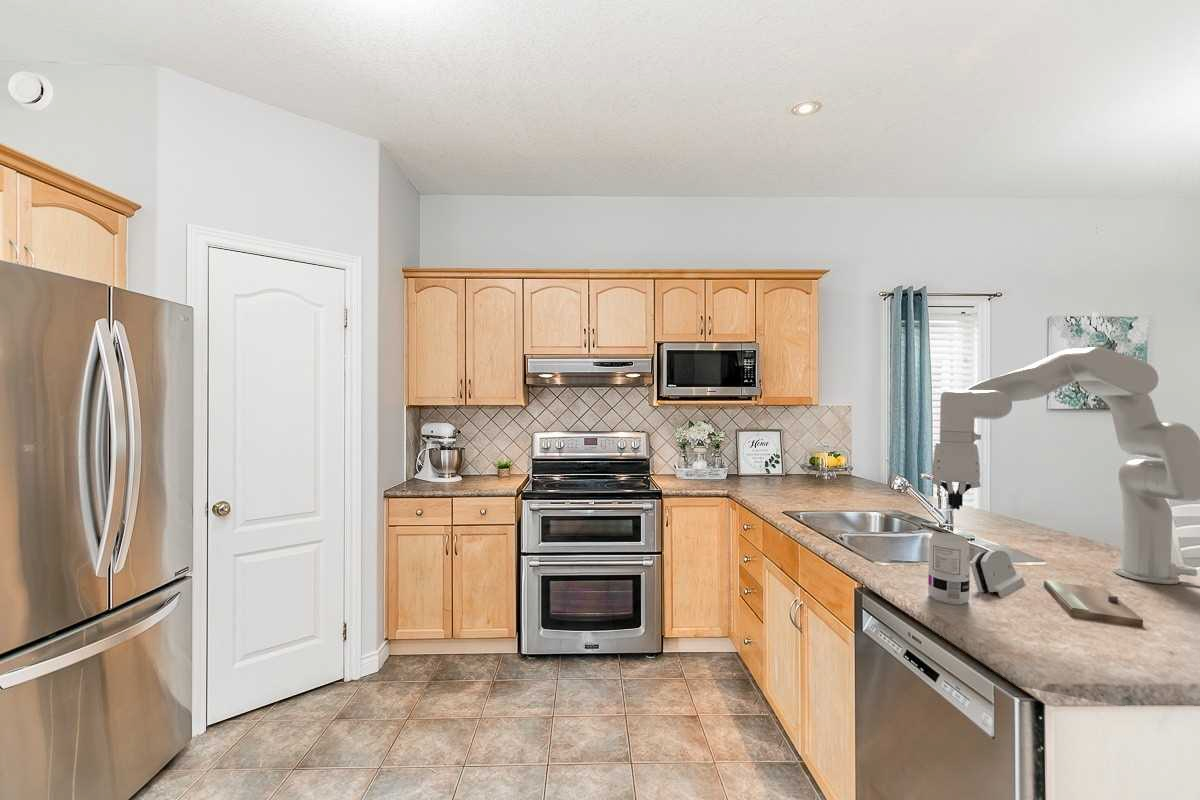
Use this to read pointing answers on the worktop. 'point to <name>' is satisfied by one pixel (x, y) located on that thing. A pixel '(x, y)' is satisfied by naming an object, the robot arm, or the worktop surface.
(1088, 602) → the door panel
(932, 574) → the supplement can
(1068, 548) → the worktop surface
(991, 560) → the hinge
